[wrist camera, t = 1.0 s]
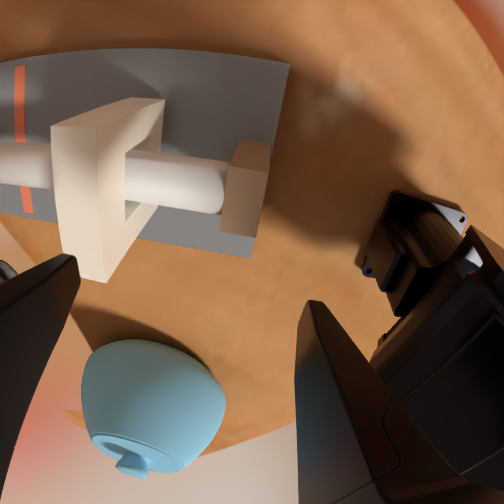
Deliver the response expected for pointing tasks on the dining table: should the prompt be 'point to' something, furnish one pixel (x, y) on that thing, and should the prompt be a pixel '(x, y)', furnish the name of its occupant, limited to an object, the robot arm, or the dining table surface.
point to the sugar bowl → (149, 405)
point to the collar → (102, 181)
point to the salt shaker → (6, 272)
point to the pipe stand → (172, 142)
